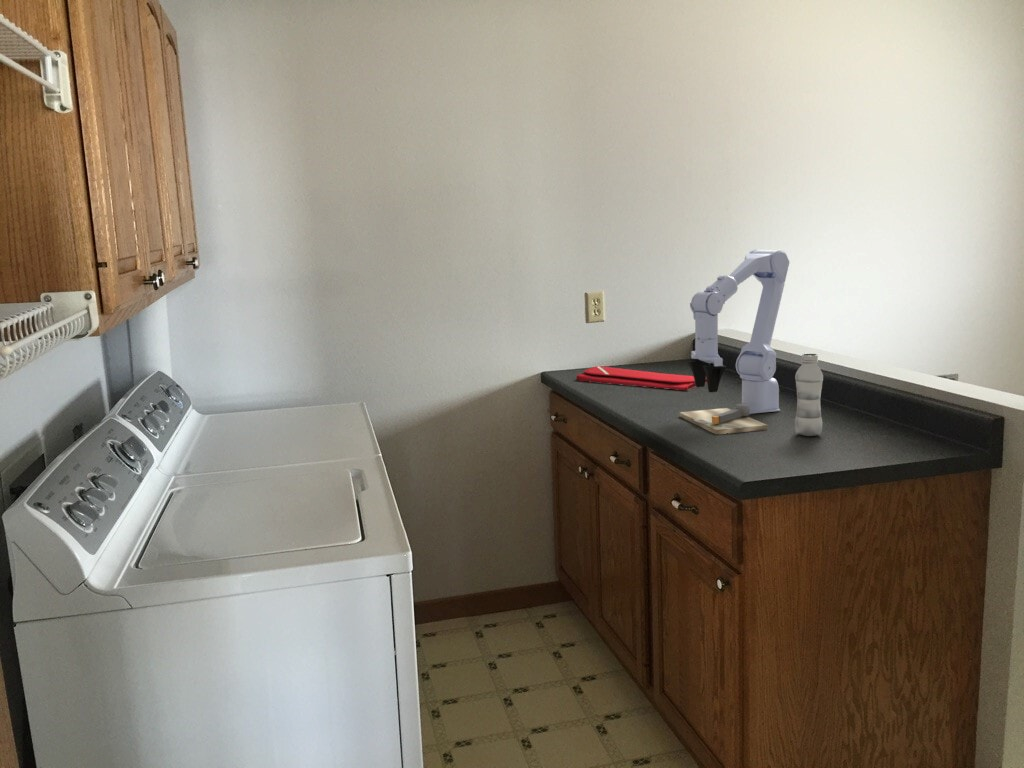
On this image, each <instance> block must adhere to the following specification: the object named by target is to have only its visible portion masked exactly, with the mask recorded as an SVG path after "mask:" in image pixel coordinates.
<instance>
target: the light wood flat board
mask: <svg viewBox="0 0 1024 768" xmlns="http://www.w3.org/2000/svg"><path fill="white" fill-rule="evenodd" d="M731 410H732V409H730V408H728V407H724V408H721V407H720V408H713V409H701V410H691V411H681V412H680V411H679V417H680V418H682V419H683V420H686V421H688V422H690V423H692V424H694V425H696V426H698V427H700V428H702V429H704V430H705V431H708V432H710V433H712V434H714V435H717V434H718V435H725V434H726V435H727V433H728V434H735V433H736V434H737V433H744V432H745V433H747V432H756V431H757V432H758V431H766V430H767V431H768V424H766V423H764V422H762V421H759V420H757V419H754V418H752V417H749V416H742V417H739V418H736V419H732V420H729V421H726V422H723V423H718V424H712V416H714V415H717V414H721V413H724V412H727V411H731Z"/></svg>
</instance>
